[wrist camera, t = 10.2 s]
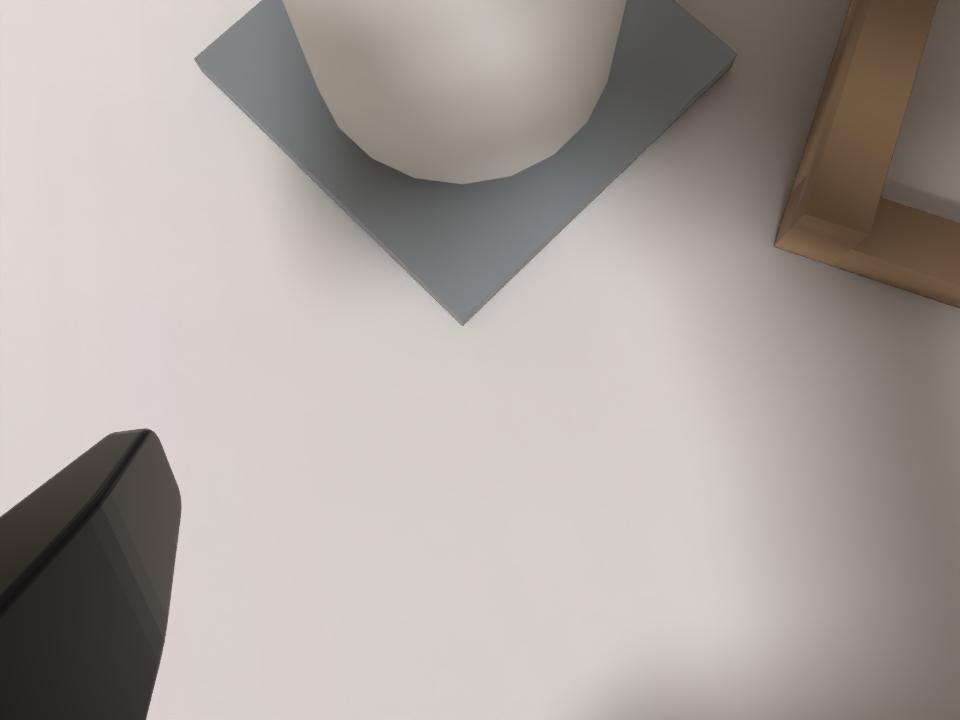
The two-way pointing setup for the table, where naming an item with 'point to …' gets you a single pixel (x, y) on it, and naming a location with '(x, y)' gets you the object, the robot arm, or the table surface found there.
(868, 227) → the brown square frame
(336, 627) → the table surface
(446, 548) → the table surface
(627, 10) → the coaster
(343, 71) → the can
